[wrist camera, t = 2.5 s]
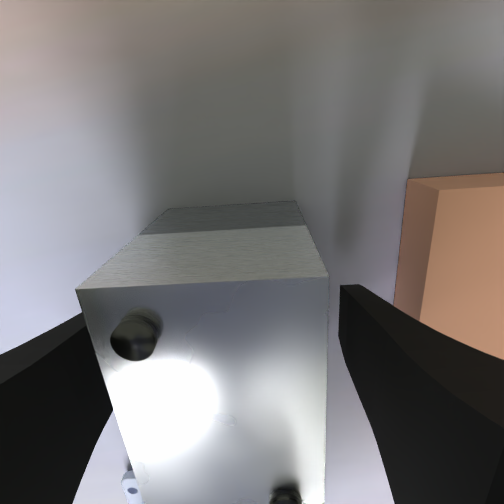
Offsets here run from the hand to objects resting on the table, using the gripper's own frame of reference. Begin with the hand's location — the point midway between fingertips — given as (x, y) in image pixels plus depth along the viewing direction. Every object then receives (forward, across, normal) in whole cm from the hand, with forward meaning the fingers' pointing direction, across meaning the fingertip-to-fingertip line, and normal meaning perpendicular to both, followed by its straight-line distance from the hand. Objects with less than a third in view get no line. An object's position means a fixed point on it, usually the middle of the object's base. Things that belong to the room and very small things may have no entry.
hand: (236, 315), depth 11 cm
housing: (+2, 0, 0) cm, 2 cm away
